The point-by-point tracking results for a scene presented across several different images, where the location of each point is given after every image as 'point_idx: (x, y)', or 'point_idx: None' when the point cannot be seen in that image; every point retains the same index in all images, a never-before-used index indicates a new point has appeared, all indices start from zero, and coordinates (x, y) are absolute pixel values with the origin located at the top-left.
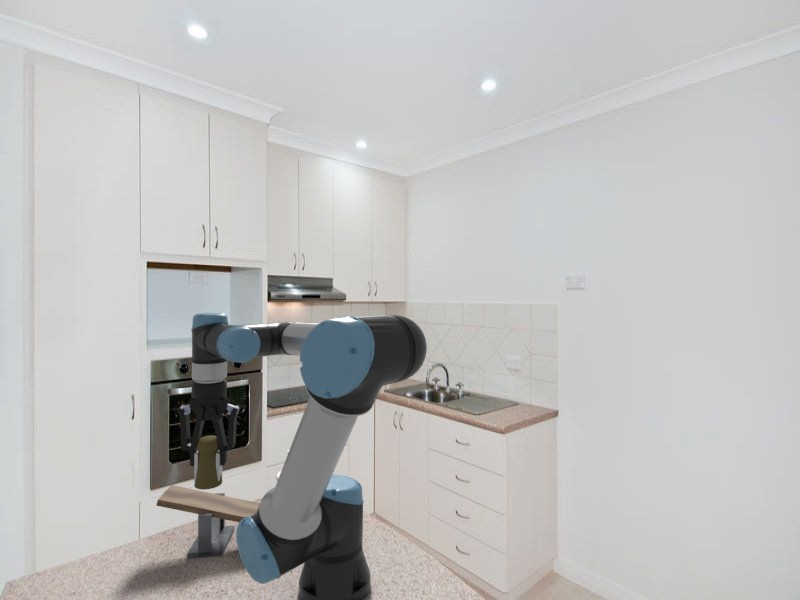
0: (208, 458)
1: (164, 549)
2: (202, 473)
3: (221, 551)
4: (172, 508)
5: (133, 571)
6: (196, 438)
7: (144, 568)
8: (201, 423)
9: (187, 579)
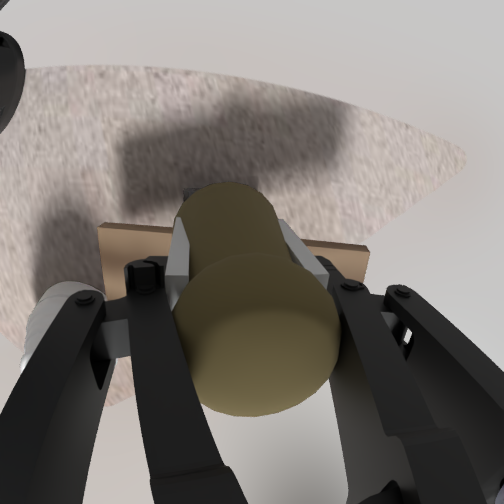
0: (231, 245)
1: (308, 227)
2: (250, 209)
3: (185, 190)
4: (324, 241)
5: (342, 163)
6: (363, 339)
7: (327, 168)
8: (384, 460)
9: (235, 117)
